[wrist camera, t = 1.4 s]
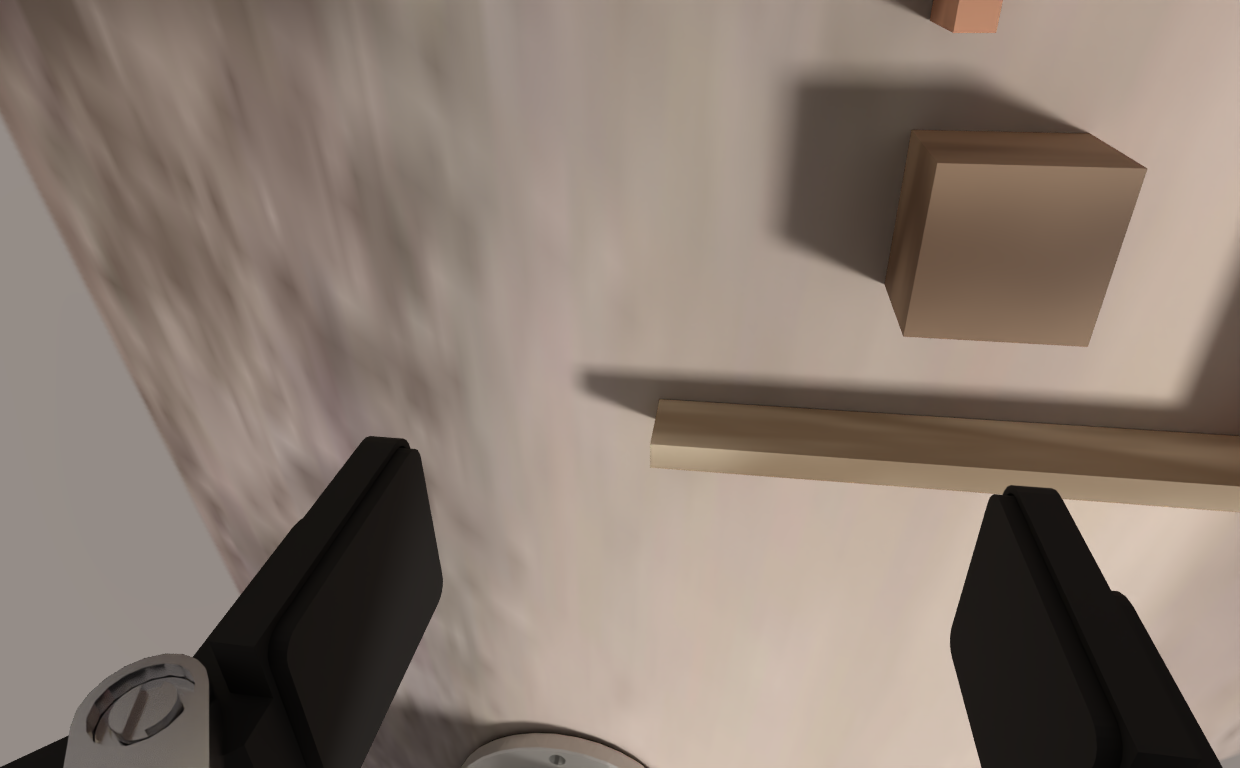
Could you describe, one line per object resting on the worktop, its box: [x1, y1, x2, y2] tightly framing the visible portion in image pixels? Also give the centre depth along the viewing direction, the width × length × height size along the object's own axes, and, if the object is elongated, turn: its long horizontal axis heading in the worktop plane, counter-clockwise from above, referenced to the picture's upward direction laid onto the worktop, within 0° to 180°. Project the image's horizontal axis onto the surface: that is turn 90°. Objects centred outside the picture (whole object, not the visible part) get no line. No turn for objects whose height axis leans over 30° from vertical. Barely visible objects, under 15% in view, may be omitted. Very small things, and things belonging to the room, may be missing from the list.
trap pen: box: [650, 0, 1240, 512], centre depth 21 cm, size 22×30×3 cm
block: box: [885, 130, 1147, 347], centre depth 22 cm, size 5×5×4 cm
